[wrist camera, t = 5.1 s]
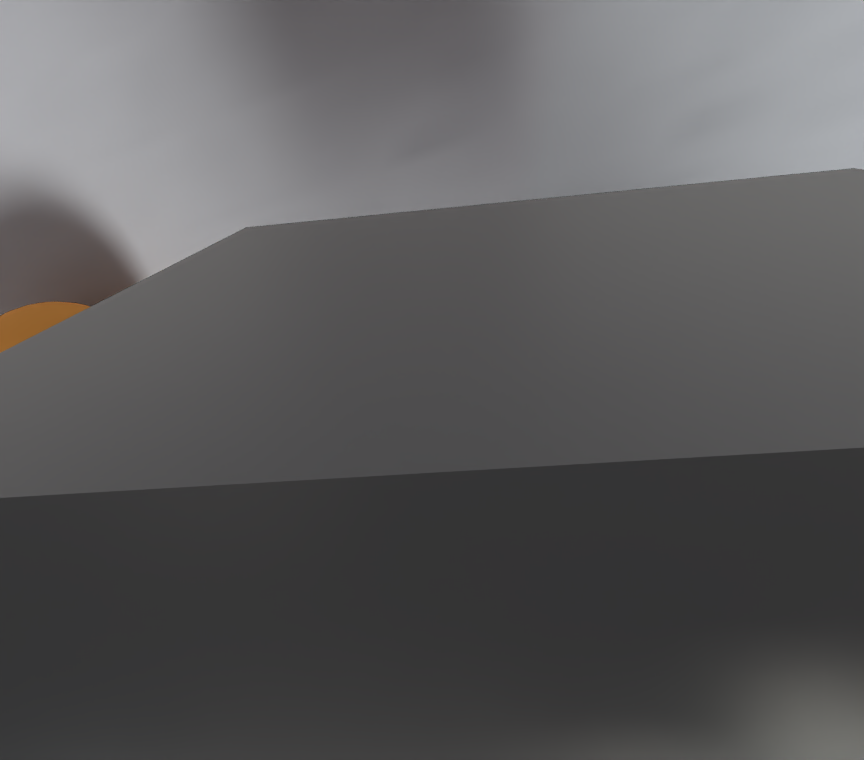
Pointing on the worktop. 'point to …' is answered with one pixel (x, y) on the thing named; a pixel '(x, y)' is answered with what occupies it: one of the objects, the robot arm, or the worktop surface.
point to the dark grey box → (452, 489)
